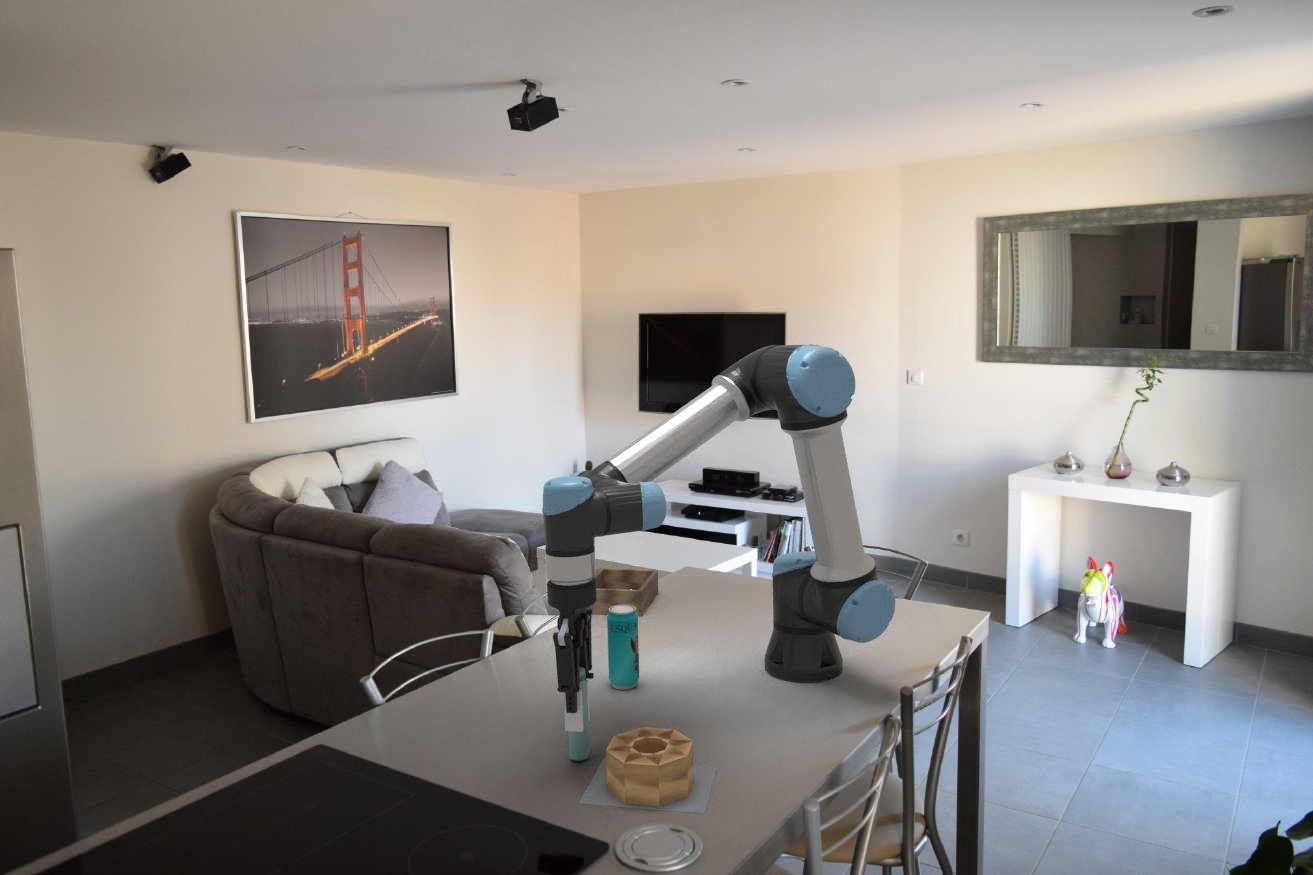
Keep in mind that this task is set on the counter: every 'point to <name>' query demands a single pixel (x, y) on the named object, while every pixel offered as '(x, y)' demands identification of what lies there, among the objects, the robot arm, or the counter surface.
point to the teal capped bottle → (580, 739)
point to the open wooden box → (625, 589)
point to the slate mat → (688, 804)
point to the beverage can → (623, 646)
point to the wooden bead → (650, 766)
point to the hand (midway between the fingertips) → (577, 724)
